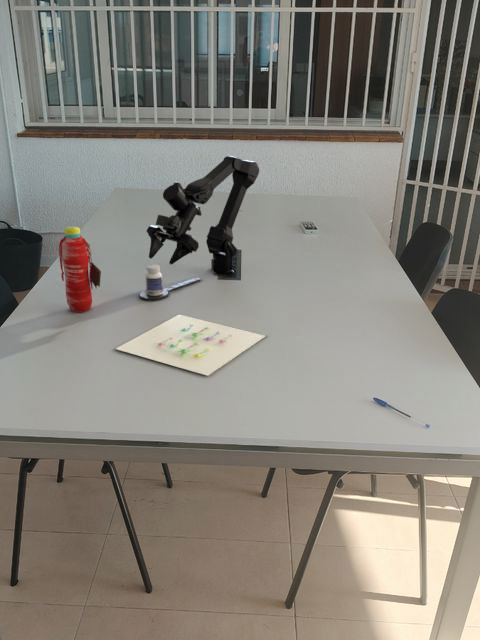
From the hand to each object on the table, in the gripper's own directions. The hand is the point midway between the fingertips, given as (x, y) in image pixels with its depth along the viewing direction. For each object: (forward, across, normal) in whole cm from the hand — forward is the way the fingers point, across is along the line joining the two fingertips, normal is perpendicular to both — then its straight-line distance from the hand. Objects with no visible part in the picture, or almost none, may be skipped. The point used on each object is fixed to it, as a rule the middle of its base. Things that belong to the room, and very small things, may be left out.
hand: (159, 260), depth 223 cm
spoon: (+4, 0, +11) cm, 12 cm away
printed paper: (+24, +35, -8) cm, 43 cm away
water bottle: (+26, -7, -10) cm, 29 cm away
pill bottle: (+9, 0, +5) cm, 11 cm away
